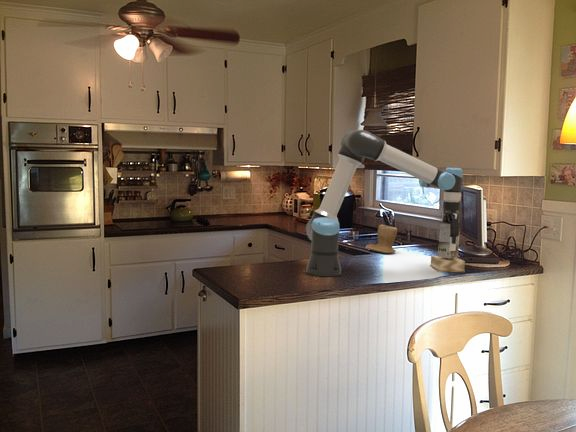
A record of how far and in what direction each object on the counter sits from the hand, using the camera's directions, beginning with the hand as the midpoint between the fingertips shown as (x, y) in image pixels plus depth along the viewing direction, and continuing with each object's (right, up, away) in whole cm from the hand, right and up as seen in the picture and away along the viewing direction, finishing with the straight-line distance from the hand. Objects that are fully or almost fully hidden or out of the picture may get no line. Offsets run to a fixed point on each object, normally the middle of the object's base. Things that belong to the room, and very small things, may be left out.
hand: (448, 248), depth 258 cm
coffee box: (0, -4, 0) cm, 4 cm away
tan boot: (-24, -5, +41) cm, 47 cm away
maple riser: (0, -10, +1) cm, 10 cm away
